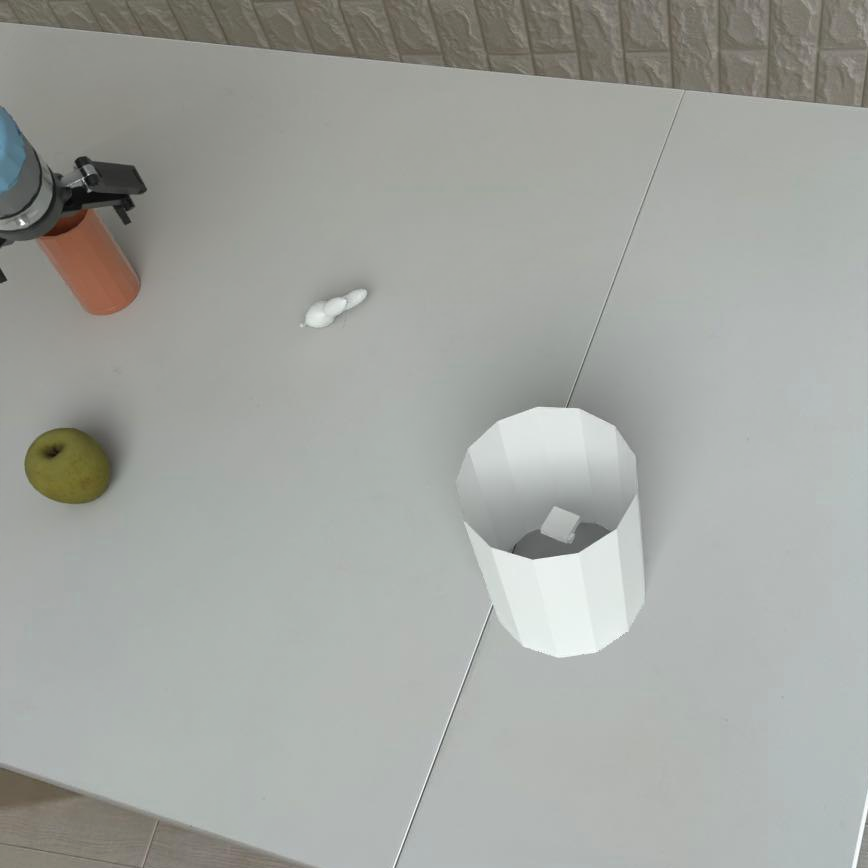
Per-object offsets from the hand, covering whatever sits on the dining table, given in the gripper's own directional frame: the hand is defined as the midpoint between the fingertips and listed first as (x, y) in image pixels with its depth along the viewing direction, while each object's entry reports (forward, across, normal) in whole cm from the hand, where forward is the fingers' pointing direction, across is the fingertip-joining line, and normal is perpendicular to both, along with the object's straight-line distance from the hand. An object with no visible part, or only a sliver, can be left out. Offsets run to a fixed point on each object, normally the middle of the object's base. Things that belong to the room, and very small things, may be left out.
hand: (60, 240), depth 107 cm
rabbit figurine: (+4, +22, -20) cm, 30 cm away
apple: (+2, -10, -23) cm, 26 cm away
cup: (+19, +1, -3) cm, 19 cm away
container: (-23, +26, -53) cm, 63 cm away
